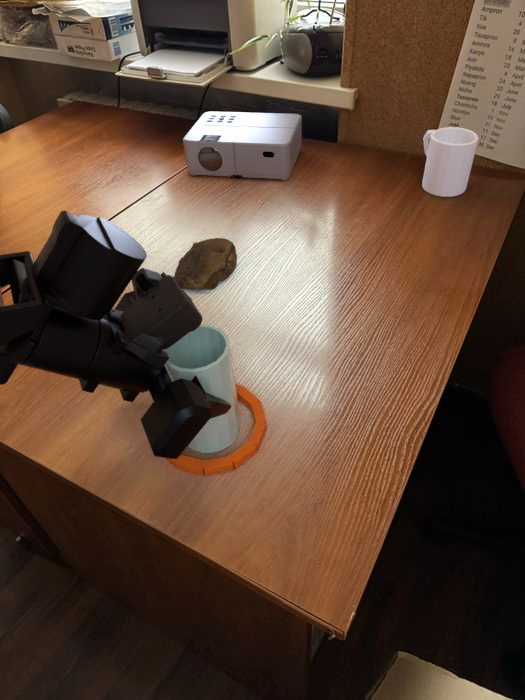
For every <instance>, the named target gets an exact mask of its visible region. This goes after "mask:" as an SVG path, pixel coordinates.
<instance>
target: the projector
mask: <svg viewBox="0 0 525 700" xmlns="http://www.w3.org/2000/svg"><path fill="white" fill-rule="evenodd" d="M302 142H303V117H302V115H301V114H300V113H283V112H281V113H280V112H279V113H277V112H276V113H275V112H244V111H243V112H242V111H205V112H204V113H203V114H201V116H200V117H199V118H198V120H197V121H196V122H195V123H194V125H193V126H192V127H191V129H189V131H188V132H187V133H186V134H185V136H184V137H183V138H182V143H183V150H184V156H185V162H186V163H185V164H186V168H187V170H188V171H187V172H188V174H190V175H191V176H192V177H193V176H194V177H195V176H214V177H232V178H235V179H240V178H250V179H251V178H252V179H253V178H254V179H271V180H273V179H274V180H281V181H283V182H284V181H287V180H288V179H289V178H290V177H291V175H292V172H293V170H294V167H295V165H296V162H297V159H298V157H299V155H300V153H301V150H302V145H303V143H302Z"/></svg>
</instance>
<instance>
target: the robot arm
mask: <svg viewBox="0 0 525 700" xmlns="http://www.w3.org/2000/svg"><path fill="white" fill-rule="evenodd" d="M147 257H148V255H147V252H146V250H145V248H144V247H143V245H141V243H140V242H139V241H137V240H136V239H135V238H134V237H133V236H132V235H130V234H129V233H128V232H127V231H125V230H124V229H123V228H122V227H119V226H118V225H117V224H115V223H113V222H112V221H110V220H108V219H106V218H104V217H102V216H99V215H98V216H97V217H96V216H94V215H90V214H85V213H84V214H83V213H82V214H81V213H80V214H79V215H76V214H74V213H72V212H70V211H68V210H61V211H60V212H59V214H58V216H57V217H56V219H55V221H54V223H53V225H52V229H51V233H50V235H49V237H48V238H47V240H46V242H45V243H44V245H43V247H42V248H41V251H40V252H39V254H38V255H37V257H36V259H35V257H34V254H33V253H32V252H31V251H29V250H25V251H19V252H11V253H5V254H4V253H3V254H0V385H1V386H2V385H6V384H7V383H8V382H9V379H10V378H11V377H12V376H13V373H14V371H15V370H16V368H17V367H18V366H23V367H28V368H32V369H36V370H40V371H43V372H48V373H52V374H54V375H55V374H56V375H59V376H64V377H68V378H73V379H76V380H78V381H79V385H80V388H81V391H82V392H86V393H90V394H94V392H95V391H96V389H97V388H98V386H99V385H100V386H104V387H108V388H112V389H116V390H119V393H120V395H121V398H122V401H124V402H129V403H134V402H135V400H136V398H137V397H138V396H139V395H140V393H141V394H142V393H149V395H150V396H151V399H152V403H151V404H150V405H149V407H148V409H147V410H146V411H145V413H143V415H142V417H141V418H140V419H139V420H140V422H141V425H142V428H143V431H144V433H145V436H146V439H147V441H148V444H149V446H150V448H151V451H152V454H153V456H154V457H157V458H163V459H167V458H170V459H178V457H179V456H180V455H183V452H184V451H186V449H187V448H188V445H189V444H190V443H191V441H192V440H193V439H194V438H195V436H196V435H197V434H198V433H199V432H200V430H201V429H202V428H203V427H204V425H205V424H206V423H207V422H208V420H209V419H211V418H214V417H217V416H220V415H223V414H226V413H227V412H228V411H229V410H230V408H231V407H232V406H231V404H230V403H228V402H226V401H224V400H222V399H220V398H218V397H215V396H213V395H211V394H209V393H206V392H205V391H204V389H203V387H202V385H201V383H200V381H199V379H198V378H197V376H196V375H195V377H194V378H193V379H192V380H191V381H189V380H186V379H183V378H181V379H178V380H175V381H174V379H173V377H172V375H171V373H170V371H169V369H168V367H167V365H166V362H167V361H168V359H169V356H168V354H167V352H165V351H163V350H164V349H168V348H169V347H171V346H172V345H173V344H175V343H176V342H177V341H179V340H180V339H181V338H183V337H184V336H185V335H186V334H188V333H189V332H192V331H194V330H196V329H197V328H198V327H199V326H200V325H201V324H203V323H202V322H203V315H202V313H201V312H200V311H199V310H198V308H197V306H196V305H195V303H194V302H193V299H192V298H191V297H190V296H189V295H188V293H186V291H185V290H184V288H181V287H180V286H179V285H178V284H177V282H176V281H175V280H174V278H173V277H174V276H173V275H171V274H166V273H165V272H164V271H162V272H161V273H159V272H157V271H154V270H151V269H148V268H145V267H141V266H142V265H143V264H144V262H145V261H146V259H147ZM130 283H131V284H132V287H133V288H132V289H133V290H132V291H129V292H125V290H126V288H127V287H128V286H129V284H130ZM7 286H9V288H10V293H11V298H12V303H13V304H8V305H5V302H4V296H3V292H2V289H3V288H5V287H7ZM124 292H125V293H124ZM123 293H124V294H123ZM122 295H123V296H122ZM121 296H122V297H121ZM119 299H120V300H119ZM117 302H118V303H117ZM116 304H117V305H116ZM115 305H116V306H115ZM162 349H163V350H162Z"/></svg>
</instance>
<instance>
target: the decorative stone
mask: <svg viewBox="0 0 525 700" xmlns="http://www.w3.org/2000/svg"><path fill="white" fill-rule="evenodd" d="M236 251H237V250H236V245H235V244H234V242H233V241H231V240H230V239H227V238H224V237H215V238H208V239H204V240H200V241H196V242H193V243H192V245H191V247H190V249H188V251H186V253H185V254H184V256H182V257H181V258H180V259H179V260H178V265H177V266H176V269H175V272H174V273H175V274H174V275H173V276H172V277H173V278H174V280H175V281H176V282H177V284H178V285H179V286H180V287H181V288H182V289H183V290H184V289H186V290H205V289H206V290H213V289H215V288H216V287H217V286H218V284H219V283H220V282H223V281H225V280H226V279H227V278H229V277H230V276H231V275H232V274H233V272H234V270H236V268H237V263H238V261H237V259H238V255H237V252H236Z"/></svg>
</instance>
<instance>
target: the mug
mask: <svg viewBox="0 0 525 700" xmlns="http://www.w3.org/2000/svg"><path fill="white" fill-rule="evenodd" d="M422 139H423V150H424V154H425V156H426V160H425V166H424V171H423V176H422V182H421V187H422V189H423V190H424V192H426V193H428V194H430V195H433V196H436V197H443V198H450V197H457V196H460V195H462V194H464V193H465V192H466V190H467V187H468V183H469V178H470V176H471V175H470V174H471V172H472V171H471V170H472V167H473V163H474V158H475V154H476V150H477V147H478V142H479V135H478V134H477V133H476V132H475V131H473V130H471V129H468V128H464V127H456V126H448V127H441V128H437V129H428V130H427V131H426V132H425V134H424V136H423V137H422Z"/></svg>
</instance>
